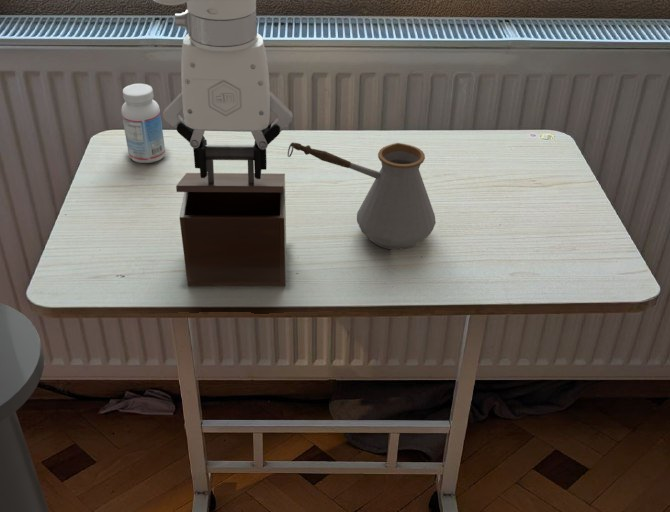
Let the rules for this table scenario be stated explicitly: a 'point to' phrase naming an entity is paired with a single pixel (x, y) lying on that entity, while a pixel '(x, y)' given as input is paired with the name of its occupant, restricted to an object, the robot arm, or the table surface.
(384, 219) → the coffee pot
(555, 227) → the table surface
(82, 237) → the table surface
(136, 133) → the pill bottle
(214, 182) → the lid
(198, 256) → the chest
